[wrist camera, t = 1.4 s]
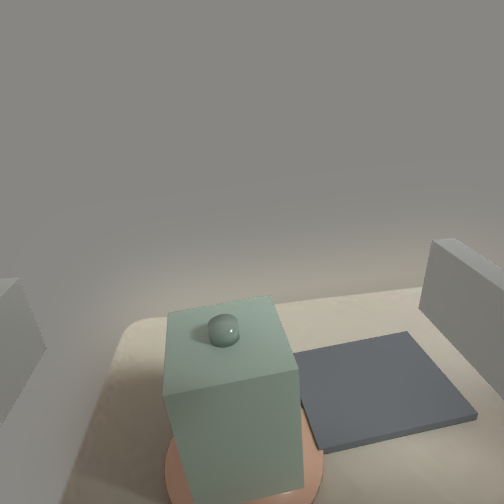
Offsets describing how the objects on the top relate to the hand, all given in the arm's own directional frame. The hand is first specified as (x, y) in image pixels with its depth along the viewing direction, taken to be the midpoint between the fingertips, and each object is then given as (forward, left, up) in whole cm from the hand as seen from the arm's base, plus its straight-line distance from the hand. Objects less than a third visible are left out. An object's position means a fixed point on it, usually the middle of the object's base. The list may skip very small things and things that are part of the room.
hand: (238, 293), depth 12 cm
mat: (-12, -13, -22) cm, 28 cm away
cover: (+1, -9, -21) cm, 23 cm away
